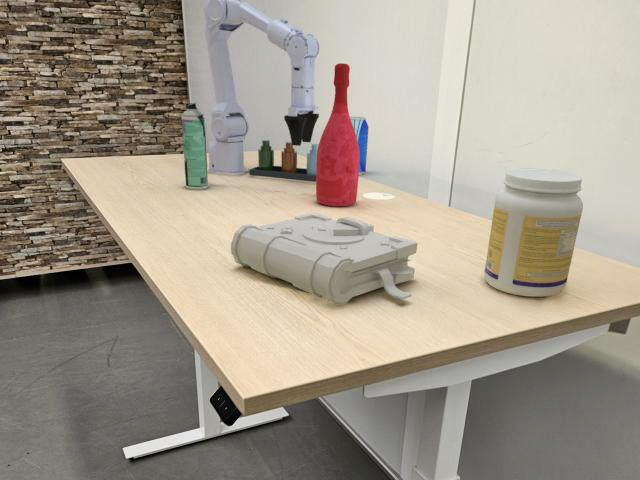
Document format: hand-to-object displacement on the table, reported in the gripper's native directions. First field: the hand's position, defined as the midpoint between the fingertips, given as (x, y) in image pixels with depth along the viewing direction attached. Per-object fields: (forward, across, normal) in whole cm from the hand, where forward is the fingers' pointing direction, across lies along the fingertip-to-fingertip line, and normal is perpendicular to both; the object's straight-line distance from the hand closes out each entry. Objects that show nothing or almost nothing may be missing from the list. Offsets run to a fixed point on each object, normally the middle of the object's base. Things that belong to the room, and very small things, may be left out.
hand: (301, 143), depth 151 cm
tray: (+10, +7, +6) cm, 13 cm away
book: (+11, -67, -30) cm, 74 cm away
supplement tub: (+11, -58, -58) cm, 83 cm away
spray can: (+11, -17, +22) cm, 30 cm away
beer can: (+11, +19, -9) cm, 24 cm away
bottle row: (+10, +7, +9) cm, 15 cm away
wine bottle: (+11, -18, -15) cm, 26 cm away
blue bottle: (+10, +6, -2) cm, 12 cm away
